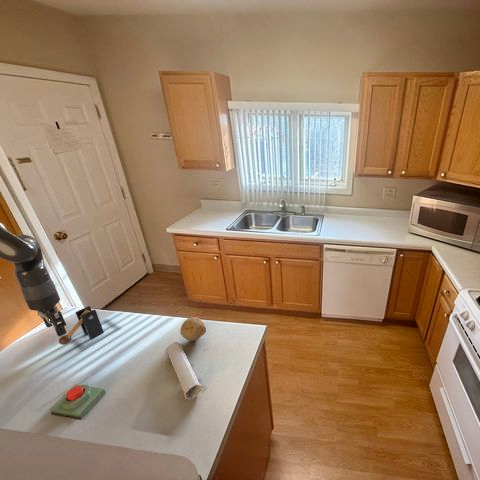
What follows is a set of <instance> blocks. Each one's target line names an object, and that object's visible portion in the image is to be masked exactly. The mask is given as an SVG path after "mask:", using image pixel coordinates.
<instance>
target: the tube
mask: <svg viewBox="0 0 480 480" xmlns="http://www.w3.org/2000/svg"><path fill="white" fill-rule="evenodd" d="M166 352H167V355H168V358H169V360H170V362H171V365H172V368H173V369H174V372H175V374H176V377H177V380H178V381H179V383H180V387H181V389H182V391H183V396H184V398H185V399H186V400H190V401H191V400H193V399H194V398H196V397H198V396H199V395H200V393H201V392H202V391H203V386H202V384H201V383H200V382H199V380H198V378H197V375H196V373H195V371H194V369H193V367H192V365H191V363H190V361H189V359H188V357H187V355H186V353H185V350H184V349H183V346H182V345H181V343H180V342H177V341H174V342H171V343H169V345H168V346H167V347H166Z"/></svg>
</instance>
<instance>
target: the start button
mask: <svg viewBox="0 0 480 480" xmlns="http://www.w3.org/2000/svg"><path fill="white" fill-rule="evenodd" d="M73 387H74V386H73ZM71 388H72V387H71ZM71 388H70V389H69V390H67V392H66V393H67V394H66V393H65V394H66V396H67V398H68V400H69V401H74V400H76V399H78V398H80V397H81V396H82V395H83V393H84V390H83V388H82V387H81V386H76V387H74V388H72V389H71Z"/></svg>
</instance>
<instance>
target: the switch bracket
mask: <svg viewBox="0 0 480 480" xmlns="http://www.w3.org/2000/svg"><path fill="white" fill-rule="evenodd" d="M85 310H88V311H90V312H88V313H86V314H83V315H81V314H82V313H83V312H84V311H85ZM75 315H76V318H77V320H78V321H79V320H80V319H81V318H82V321H83V323H82V324H81V325H80V327H81V330H82V332H83V334H84V336H85V337H87V336H88V338H89V340H94V339H95V338H97V337H99V336H100V335H103V334H104V333H105V332H104V329H103V326H102V323H101V321H100V318H99V315H98V312H97V310H96V309H92V307H91V306H90V305H88V306H86V307H84V308H81V309H79V310H76V311H75ZM80 315H81V317H80Z"/></svg>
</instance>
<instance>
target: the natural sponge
mask: <svg viewBox="0 0 480 480" xmlns="http://www.w3.org/2000/svg"><path fill="white" fill-rule="evenodd" d="M206 332H207V327H206V325H205V323H204V322H203V320H202V319H201V318H199V317H196V316H192V317H188V318H187V319H186V320H184V322H182V324H181V326H180V331H179V333H180V335H181V337H183V338H184V339H185V340H187V341H190V342H195V341H197V340H199V338H201V337H203V336H204V335H205V334H206Z"/></svg>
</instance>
